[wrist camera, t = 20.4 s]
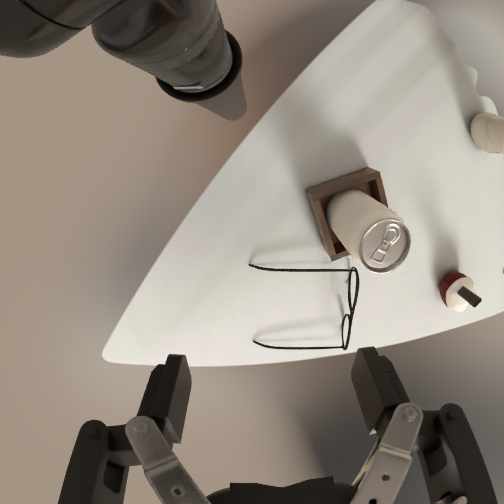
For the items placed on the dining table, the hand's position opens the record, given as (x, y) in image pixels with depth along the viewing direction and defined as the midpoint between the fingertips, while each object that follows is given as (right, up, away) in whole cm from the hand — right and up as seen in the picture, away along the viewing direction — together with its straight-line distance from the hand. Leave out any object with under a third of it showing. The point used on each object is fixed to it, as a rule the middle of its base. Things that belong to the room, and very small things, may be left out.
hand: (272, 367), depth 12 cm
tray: (+12, +11, +24) cm, 29 cm away
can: (+12, +11, +23) cm, 28 cm away
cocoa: (+34, 0, +29) cm, 44 cm away
